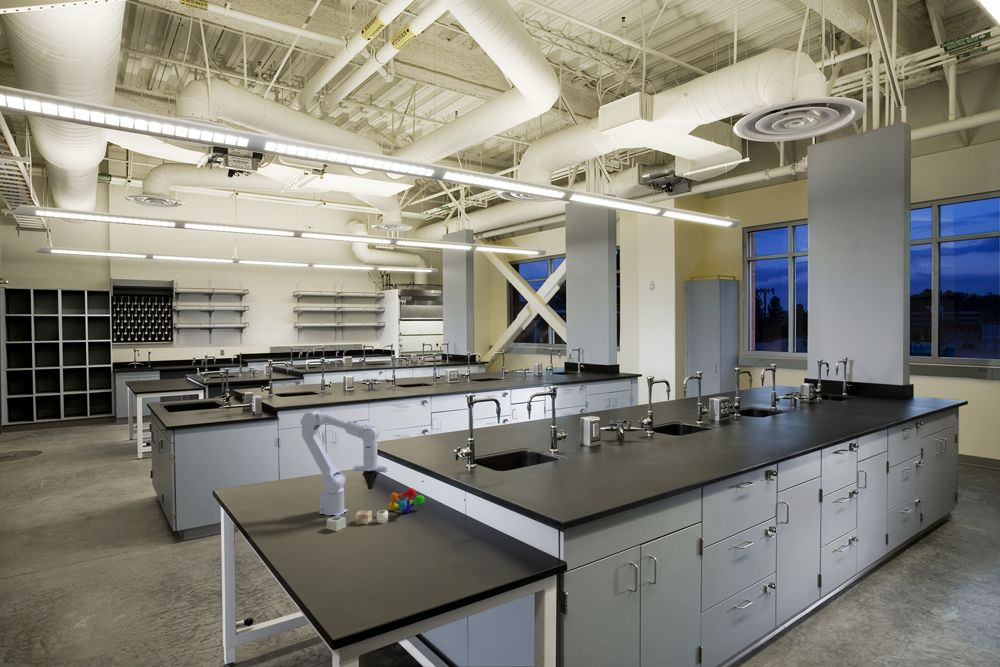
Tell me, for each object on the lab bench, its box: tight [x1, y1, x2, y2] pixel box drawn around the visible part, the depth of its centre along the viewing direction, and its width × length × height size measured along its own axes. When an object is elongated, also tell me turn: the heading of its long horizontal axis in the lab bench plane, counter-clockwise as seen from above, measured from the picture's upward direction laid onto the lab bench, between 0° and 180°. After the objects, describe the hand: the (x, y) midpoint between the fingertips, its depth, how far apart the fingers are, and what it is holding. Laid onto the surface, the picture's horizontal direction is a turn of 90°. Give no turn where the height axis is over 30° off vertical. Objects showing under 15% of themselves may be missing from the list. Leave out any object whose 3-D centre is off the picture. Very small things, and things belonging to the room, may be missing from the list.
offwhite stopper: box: [376, 509, 389, 524], centre depth 220 cm, size 4×4×4 cm
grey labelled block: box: [326, 516, 347, 532], centre depth 213 cm, size 5×5×4 cm
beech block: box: [355, 510, 373, 525], centre depth 220 cm, size 5×5×4 cm
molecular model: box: [388, 487, 426, 514], centre depth 233 cm, size 15×10×15 cm
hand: (370, 488), depth 230 cm, fingers closed
